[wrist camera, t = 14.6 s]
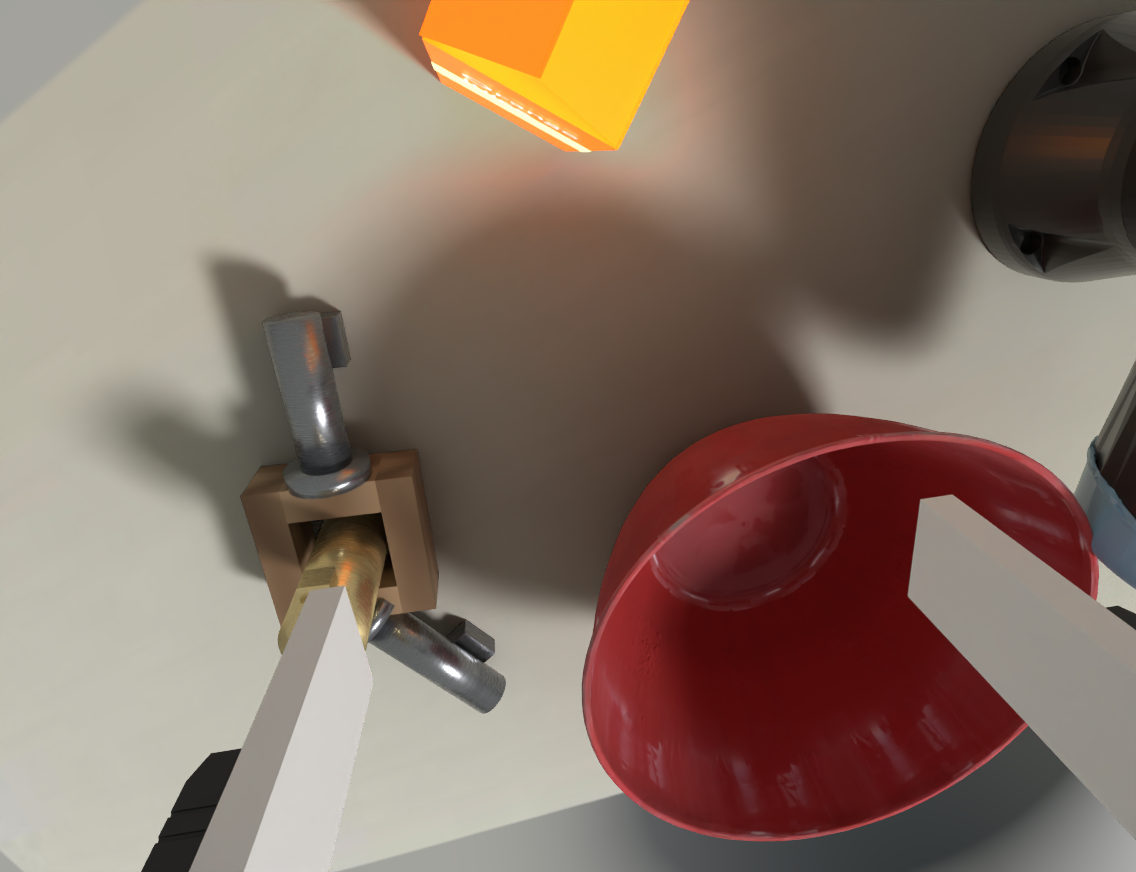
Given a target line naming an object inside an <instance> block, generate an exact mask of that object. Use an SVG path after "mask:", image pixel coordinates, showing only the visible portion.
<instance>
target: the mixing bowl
mask: <svg viewBox="0 0 1136 872" xmlns="http://www.w3.org/2000/svg"><path fill="white" fill-rule="evenodd" d="M946 495H954V496H955V497H956V498H958V499H959V500H961V501H962V502H963V503H965V504H966V505H967V506H969V507H970V508H971V509H973V510H974V511H975V512H977V513H978V514H979V515H981V516H982V517H983V518H985V519H986V520H988V521H989V522H990V523H992V524H993V525H994V526H996V527H997V528H998V529H1000V530H1001V531H1002V532H1004V533H1005V534H1006V535H1008V536H1009V537H1010V538H1012V539H1013V540H1015V541H1016V542H1017V543H1019V544H1020V545H1021V546H1023V547H1024V548H1025V549H1027V550H1028V551H1029V552H1031V553H1032V554H1033V555H1035V556H1036V557H1037V558H1039V559H1040V560H1042V561H1043V562H1044V563H1046V564H1047V565H1048V566H1050V567H1051V568H1052V569H1054V570H1055V571H1056V572H1058V573H1059V574H1060V575H1062V576H1063V577H1065V578H1066V579H1067V580H1069V581H1070V582H1071V583H1073V584H1074V585H1075V586H1077V587H1078V588H1079V589H1081V590H1082V591H1083V592H1085V593H1086V594H1087V595H1089V596H1090V597H1092V598H1093V599H1094V600H1096V599H1097V594H1098V579H1099V566H1098V558H1097V557H1096V556H1095V555H1094V553H1093V552H1092V548H1091V542H1092V539H1093V531H1092V528H1091V526H1090V523H1089V520H1088V518H1087V516H1086V514H1085V512H1084V510H1083V509H1082V507H1081V505H1080V504H1079V502H1078V501H1077V499H1076V498H1075V496H1074V495H1073V493H1072V492H1071V491H1070V490H1069V489H1068V488H1067V486H1066V485H1065V484H1064V483H1063V482H1062V481H1061V480H1060V479H1059V478H1057V477H1056V476H1055V475H1054V474H1053V473H1052V472H1051V471H1049V470H1048V469H1047V468H1045V467H1044V466H1043V465H1041V464H1040V463H1038V462H1036V461H1035V460H1033V459H1031V458H1030V457H1028V456H1026V455H1025V454H1023V453H1020V452H1018V451H1016V450H1014V449H1012V448H1009V447H1006V446H1003V445H1001V444H998V443H995V442H992V441H989V440H985V439H981V438H977V437H972V436H968V435H962V434H955V433H946V432H937V431H934V430H929V429H925V428H921V427H917V426H913V425H908V424H904V423H899V422H894V421H888V420H881V419H874V418H866V417H858V416H849V415H838V414H817V413H811V414H793V415H780V416H770V417H764V418H759V419H754V420H750V421H747V422H743V423H739V424H736V425H732V426H729V427H727V428H724V429H721V430H719V431H717V432H715V433H713V434H711V435H709V436H707V437H705V438H703V439H701V440H699V441H697V442H695V443H694V444H692V445H691V446H690V447H688V448H687V449H685V450H684V451H683V452H681V453H680V454H679V455H677V456H676V457H674V458H673V459H672V460H671V461H670V462H669V463H668V464H667V465H666V466H665V467H664V468H663V469H662V470H661V471H660V472H659V473H658V474H657V475H656V476H655V477H654V478H653V479H652V481H651V482H650V483H649V484H648V485H647V487H646V488H645V490H644V491H643V492H642V494H641V496H640V497H639V499H638V500H637V502H636V503H635V505H634V507H633V508H632V510H631V511H630V513H629V515H628V517H627V519H626V521H625V523H624V524H623V526H622V528H621V531H620V533H619V535H618V538H617V540H616V543H615V546H614V548H613V551H612V554H611V557H610V559H609V562H608V565H607V568H606V571H605V575H604V578H603V582H602V586H601V589H600V594H599V599H598V604H597V609H596V615H595V622H594V629H593V635H592V638H591V641H590V644H589V648H588V651H587V655H586V659H585V665H584V670H583V679H582V707H583V716H584V722H585V726H586V730H587V733H588V737H589V740H590V742H591V745H592V748H593V750H594V752H595V754H596V756H597V758H598V760H599V762H600V764H601V765H602V767H603V768H604V770H605V771H606V773H607V774H608V775H609V777H610V778H611V779H612V780H613V782H614V783H615V784H616V785H617V786H618V787H619V788H620V789H621V790H622V791H623V792H624V793H625V794H626V795H627V796H628V797H629V798H630V799H632V800H633V801H634V802H635V803H637V804H638V805H640V806H641V807H642V808H643V809H645V810H646V811H648V812H650V813H651V814H653V815H654V816H656V817H659V818H660V819H662V820H664V821H667V822H669V823H671V824H673V825H675V826H678V827H681V828H684V829H687V830H690V831H694V832H697V833H699V834H704V835H708V836H713V837H719V838H726V839H733V840H745V841H785V840H795V839H804V838H812V837H818V836H823V835H828V834H833V833H837V832H842V831H846V830H850V829H853V828H856V827H860V826H863V825H867V824H870V823H873V822H876V821H879V820H882V819H884V818H887V817H890V816H892V815H895V814H897V813H900V812H902V811H904V810H907V809H909V808H911V807H913V806H915V805H917V804H919V803H921V802H923V801H925V800H927V799H929V798H930V797H933V796H934V795H936V794H938V793H940V792H941V791H943V790H945V789H947V788H949V787H951V786H952V785H954V784H955V783H957V782H958V781H960V780H962V779H963V778H964V777H966V776H967V775H969V774H970V773H972V772H973V771H975V770H976V769H977V768H979V767H980V766H982V765H983V764H985V763H986V762H987V761H989V760H990V759H991V758H992V757H994V756H995V755H996V754H997V753H999V752H1000V751H1001V750H1002V749H1003V748H1004V747H1005V746H1007V745H1008V744H1009V743H1010V742H1011V741H1012V740H1013V739H1014V738H1015V737H1016V736H1017V735H1018V734H1020V732H1022V731H1023V730H1024V729H1025V728H1026V727H1027V726H1028V724H1027V723H1026V722H1025V721H1024V720H1023V719H1022V718H1021V717H1020V716H1019V715H1018V714H1017V713H1016V712H1015V710H1014V709H1013V708H1012V707H1011V706H1010V705H1009V704H1008V703H1007V702H1006V701H1005V700H1004V699H1003V698H1002V697H1001V695H1000V694H999V693H998V692H997V691H996V690H995V689H994V688H993V687H992V686H991V685H990V684H989V683H988V682H987V681H986V679H985V678H984V677H983V676H982V675H981V674H980V673H979V672H978V671H977V670H976V669H975V668H974V667H973V666H972V665H971V663H970V662H969V661H968V660H967V659H966V658H965V657H964V656H963V655H962V654H961V653H960V652H959V651H958V650H957V648H956V647H955V646H954V645H953V644H952V643H951V642H950V641H949V640H948V639H947V638H946V637H945V636H944V635H943V634H942V632H941V631H940V630H939V629H938V628H937V627H936V626H935V625H934V624H933V623H932V622H931V621H930V620H929V619H928V617H927V616H926V615H925V614H924V613H923V612H922V611H921V610H920V609H919V608H918V607H917V606H916V605H915V604H914V603H913V601H912V600H911V599H910V598H909V597H908V589H909V582H910V574H911V567H912V559H913V551H914V544H915V536H916V529H917V521H918V514H919V506H920V499H926V498H932V497H939V496H946Z"/></svg>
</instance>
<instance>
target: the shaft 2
mask: <svg viewBox="0 0 1136 872" xmlns="http://www.w3.org/2000/svg"><path fill="white" fill-rule="evenodd" d="M394 606H395V605H393V604H392V603H390V602H389V601H387V600H386V599H384V598H382V599H381V600H380V601H378V602H377V603H376V605H375V609H374V614H373V619H372V623H371V628H370V633H369V638H368V642H369V643H371V644H372V645H374V646H376V647H377V648H379V649H380V650H382V651H384V652H385V653H387V654H388V655H390V656H391V657H393V658H395V659H396V660H398V661H399V662H401V663H403V664H404V665H406V666H407V667H409V668H410V669H412V670H414V671H415V672H417V673H418V674H420V675H422V676H423V677H425V678H426V679H428V680H429V681H431V682H433V683H434V684H436V685H437V686H439V687H441V688H442V689H444V690H445V691H447V692H448V693H450V694H452V695H453V696H455V697H456V698H458V699H460V700H461V701H463V702H464V703H466V704H468V705H469V706H471V707H472V708H474V709H475V710H477V711H479V712H480V713H483V714H484V713H487V712H489V711H491V710H492V709H493V708H494V707H495V706H496V705H497V704H498V702H499V701H500V699H501V697H502V695H503V693H504V690H505V685H506V681H505V677H504V676H503V675H501V674H500V673H498V672H497V671H495V670H494V669H492V668H491V667H489V666H488V665H486V664H485V663H484V662H486V661H487V660H488V659H489V658H490V657H491V656H492V655H494V654H495V643H494V639H493V638H491V637H490V636H488V635H487V634H486V633H484V632H483V631H481V630H480V629H478V628H477V627H476V626H474V625H473V624H471V623H470V622H468V621H467V620H466V619H465V620H464V621H463V622H462V623H461V624H460V625H459V626H458V627H457V628H455V629H454V630H453V631H452V632H451V633H450V634H449V635H448V636H447V637H445V636H443V635H442V634H440V633H439V632H437V631H436V630H434V629H433V628H431V627H430V626H428V625H427V624H425V623H424V622H422V621H421V620H419V619H418V618H416V617H415V616H414V615H412V614H411V613H409V612H408V613H401V614H393V615H390V614H391V612H392V610H393V608H394ZM368 642H367V643H368Z"/></svg>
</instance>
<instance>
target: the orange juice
mask: <svg viewBox="0 0 1136 872" xmlns="http://www.w3.org/2000/svg"><path fill="white" fill-rule="evenodd" d="M689 1H690V0H431V3H430V5H429V8H428V11H427V14H426V16H425V19H424V22H423V25H422V27H421V30H420V33H419V35H420V36H423V37H422V40H423V42H424V45H425V47H426V49H427V51H428V54H429V56H430V58H431V60H432V62H431V64H432V66H433V68H434V70H435V71H436V72H437V74H438V76H439V78H440V81H441V83H443V84H445V85H446V86H448V87H450V88H452V89H454V90H456V91H457V92H459V93H461V94H463V95H465V96H466V97H468V98H470V99H472V100H474V101H475V102H477V103H479V104H481V105H483V106H484V107H486V108H488V109H490V110H492V111H493V112H495V113H497V114H499V115H501V116H502V117H504V118H506V119H508V120H510V121H511V122H513V123H515V124H517V125H519V126H521V127H522V128H524V129H526V130H528V131H530V132H531V133H533V134H535V135H537V136H539V137H540V138H542V139H544V140H546V141H548V142H549V143H551V144H553V145H555V146H557V147H558V148H560V149H562V150H564V151H581V152H591V151H596V150H617V149H619V147H620V145H621V143H622V141H623V138H624V136H625V134H626V132H627V130H628V128H629V126H630V124H631V122H632V120H633V118H634V115H635V113H636V111H637V109H638V107H639V105H640V103H641V101H642V99H643V97H644V95H645V93H646V90H647V88H648V86H649V84H650V82H651V80H652V78H653V76H654V74H655V72H656V70H657V67H658V65H659V63H660V61H661V59H662V57H663V55H664V53H665V51H666V49H667V47H668V44H669V42H670V40H671V38H672V36H673V34H674V32H675V30H676V28H677V26H678V24H679V22H680V19H681V17H682V15H683V13H684V11H685V9H686V7H687V5H688V3H689Z"/></svg>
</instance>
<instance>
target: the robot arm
mask: <svg viewBox="0 0 1136 872" xmlns="http://www.w3.org/2000/svg"><path fill="white" fill-rule="evenodd" d="M971 193H972V206H973V213H974V218H975V221H976V225H977V228H978V230H979V233H980V235H981V237H982V239H983V241H984V243H985V244H986V246H987V248H988V249H989V250H990V251H991V253H992V254H993V255H994V256H995V257H996V258H997V259H998V260H999V261H1000V262H1002V263H1003V264H1004V265H1006V266H1007V267H1009V268H1011V269H1012V270H1015V271H1017V272H1019V273H1022V274H1025V275H1029V276H1034V277H1039V278H1043V279H1048V280H1053V281H1059V282H1086V281H1094V280H1100V279H1107V278H1114V277H1121V276H1128V275H1135V274H1136V10H1134V11H1129V12H1124V13H1120V14H1115V15H1110V16H1106V17H1101V18H1098V19H1094V20H1091V21H1088V22H1086V23H1083V24H1081V25H1079V26H1076V27H1074V28H1072V29H1070V30H1069V31H1067V32H1065V33H1063V34H1062V35H1060V36H1059V37H1057V38H1056V39H1054V40H1053V41H1051V42H1050V43H1049V44H1047V45H1046V46H1045V47H1044V48H1043V49H1041V50H1040V51H1039V52H1038V53H1037V54H1036V55H1035V56H1033V57H1032V58H1031V59H1030V60H1029V61H1028V62H1027V63H1026V65H1025V66H1024V67H1023V68H1022V69H1021V70H1020V71H1019V72H1018V74H1017V75H1016V76H1015V77H1014V78H1013V80H1012V81H1011V82H1010V84H1009V85H1008V86H1007V88H1006V89H1005V91H1004V92H1003V94H1002V95H1001V97H1000V99H999V100H998V102H997V104H996V105H995V107H994V109H993V111H992V113H991V115H990V117H989V119H988V121H987V123H986V126H985V128H984V131H983V133H982V136H981V139H980V142H979V145H978V149H977V153H976V157H975V161H974V167H973V174H972V192H971ZM1074 496H1075V498H1076V499H1077V501H1078V502H1079V504H1080V505H1081V507H1082V509H1083V510H1084V512H1085V514H1086V516H1087V518H1088V520H1089V523H1090V526H1091V528H1092V531H1093V539H1092V542H1091V548H1092V552H1093V553H1094V555H1095V556H1096V557H1097V558H1098V559H1099V560H1100V561H1101V562H1102V563H1103V564H1104V565H1105V566H1106V567H1108V568H1109V569H1110V570H1111V571H1112V572H1113V573H1115V574H1116V575H1117V576H1118V577H1120V578H1121V579H1122V580H1123V581H1125V582H1126V583H1127V584H1129V585H1130V586H1132V587H1133V588H1134V589H1136V360H1135V362H1134V364H1133V366H1132V369H1131V371H1130V373H1129V375H1128V377H1127V379H1126V381H1125V383H1124V385H1123V387H1122V389H1121V392H1120V394H1119V396H1118V398H1117V400H1116V402H1115V404H1114V406H1113V408H1112V410H1111V412H1110V414H1109V416H1108V418H1107V420H1106V422H1105V424H1104V426H1103V428H1102V430H1101V432H1100V434H1099V436H1096V437H1095V438H1094V439H1093V441H1092V442H1091V444H1090V446H1089V448H1088V452H1087V463H1086V465H1085V468H1084V471H1083V473H1082V476H1081V479H1080V481H1079V484H1078V486H1077V488H1076V491H1075V493H1074ZM908 597H909V598H910V599H911V600H912V601H913V603H914V604H915V605H916V606H917V607H918V608H919V609H920V610H921V611H922V612H923V613H924V614H925V615H926V616H927V617H928V619H929V620H930V621H931V622H932V623H933V624H934V625H935V626H936V627H937V628H938V629H939V630H940V631H941V632H942V634H943V635H944V636H945V637H946V638H947V639H948V640H949V641H950V642H951V643H952V644H953V645H954V646H955V647H956V648H957V650H958V651H959V652H960V653H961V654H962V655H963V656H964V657H965V658H966V659H967V660H968V661H969V662H970V663H971V665H972V666H973V667H974V668H975V669H976V670H977V671H978V672H979V673H980V674H981V675H982V676H983V677H984V678H985V679H986V681H987V682H988V683H989V684H990V685H991V686H992V687H993V688H994V689H995V690H996V691H997V692H998V693H999V694H1000V695H1001V697H1002V698H1003V699H1004V700H1005V701H1006V702H1007V703H1008V704H1009V705H1010V706H1011V707H1012V708H1013V709H1014V710H1015V712H1016V713H1017V714H1018V715H1019V716H1020V717H1021V718H1022V719H1023V720H1024V721H1025V722H1026V723H1027V724H1028V725H1029V726H1030V728H1031V729H1032V730H1033V731H1034V732H1035V733H1036V734H1037V735H1038V736H1039V737H1040V738H1041V739H1042V740H1043V741H1044V742H1045V744H1046V745H1047V746H1048V747H1049V748H1050V749H1051V750H1052V751H1053V752H1054V753H1055V754H1056V755H1057V756H1058V757H1059V759H1060V760H1061V761H1062V762H1063V763H1064V764H1065V765H1066V766H1067V767H1068V768H1069V769H1070V770H1071V771H1072V772H1073V773H1074V774H1075V776H1076V777H1077V778H1078V779H1079V780H1080V781H1081V782H1082V783H1083V784H1084V785H1085V786H1086V787H1087V788H1088V789H1089V790H1090V792H1091V793H1092V794H1093V795H1094V796H1095V797H1096V798H1097V799H1098V800H1099V801H1100V802H1101V803H1102V804H1103V805H1104V807H1105V808H1106V809H1107V810H1108V811H1109V812H1110V813H1111V814H1112V815H1113V816H1114V817H1115V818H1116V819H1117V820H1118V821H1119V823H1121V825H1122V826H1123V827H1124V828H1125V829H1126V830H1127V831H1128V832H1129V833H1130V834H1131V835H1132V837H1134V839H1135V840H1136V614H1135V613H1133V612H1131V611H1128V610H1126V609H1124V608H1122V607H1120V606H1113V607H1107V608H1105V607H1104V606H1102V605H1101V604H1100V603H1098V602H1097V601H1096V600H1094V599H1093V598H1092V597H1090V596H1089V595H1087V594H1086V593H1085V592H1083V591H1082V590H1081V589H1079V588H1078V587H1077V586H1075V585H1074V584H1073V583H1071V582H1070V581H1069V580H1067V579H1066V578H1065V577H1063V576H1062V575H1060V574H1059V573H1058V572H1056V571H1055V570H1054V569H1052V568H1051V567H1050V566H1048V565H1047V564H1046V563H1044V562H1043V561H1042V560H1040V559H1039V558H1037V557H1036V556H1035V555H1033V554H1032V553H1031V552H1029V551H1028V550H1027V549H1025V548H1024V547H1023V546H1021V545H1020V544H1019V543H1017V542H1016V541H1015V540H1013V539H1012V538H1010V537H1009V536H1008V535H1006V534H1005V533H1004V532H1002V531H1001V530H1000V529H998V528H997V527H996V526H994V525H993V524H992V523H990V522H989V521H988V520H986V519H985V518H983V517H982V516H981V515H979V514H978V513H977V512H975V511H974V510H973V509H971V508H970V507H969V506H967V505H966V504H965V503H963V502H962V501H961V500H959V499H958V498H956V497H955V496H954V495H946V496H939V497H932V498H926V499H920V506H919V514H918V521H917V529H916V536H915V544H914V551H913V559H912V567H911V574H910V582H909V589H908ZM373 682H374V679H373V676H372V673H371V669H370V666H369V663H368V660H367V656H366V653H365V650H364V646H363V643H362V640H361V637H360V633H359V630H358V627H357V623H356V620H355V617H354V614H353V610H352V607H351V604H350V600H349V597H348V594H347V591H346V587H345V586H338V587H332V588H325V589H318V590H312V591H309V594H308V596H307V598H306V601H305V603H304V605H303V608H302V610H301V612H300V615H299V617H298V619H297V622H296V624H295V626H294V628H293V631H292V633H291V635H290V638H289V640H288V642H287V645H286V647H285V649H284V652H283V654H282V656H281V659H280V661H279V663H278V666H277V668H276V670H275V673H274V675H273V677H272V680H271V682H270V684H269V687H268V689H267V691H266V694H265V696H264V698H263V701H262V703H261V705H260V708H259V710H258V712H257V715H256V717H255V719H254V722H253V724H252V726H251V728H250V731H249V733H248V735H247V738H246V740H245V742H244V745H243V747H242V749H235V750H229V751H223V752H217V753H211V754H210V755H209V756H208V757H207V758H206V760H205V761H204V762H203V763H202V764H201V765H200V766H199V767H198V769H197V770H196V771H195V772H194V773H193V774H192V775H191V776H190V778H189V779H188V780H187V781H186V783H185V785H184V787H183V789H182V791H181V793H180V795H179V797H178V799H177V801H176V803H175V805H174V807H173V809H172V811H171V817H170V818H168V819H167V821H166V823H165V825H164V827H163V829H162V831H161V833H160V835H159V837H158V838H159V841H158V843H156V844H155V845H154V847H153V849H152V851H151V853H150V855H149V857H148V859H147V861H146V863H145V865H144V867H143V869H142V871H141V872H329V870H330V865H331V861H332V857H333V852H334V848H335V844H336V840H337V835H338V831H339V827H340V823H341V818H342V814H343V810H344V805H345V801H346V797H347V793H348V788H349V784H350V780H351V776H352V771H353V767H354V763H355V758H356V754H357V750H358V746H359V741H360V737H361V733H362V729H363V724H364V720H365V716H366V711H367V707H368V703H369V699H370V694H371V690H372V686H373Z"/></svg>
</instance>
